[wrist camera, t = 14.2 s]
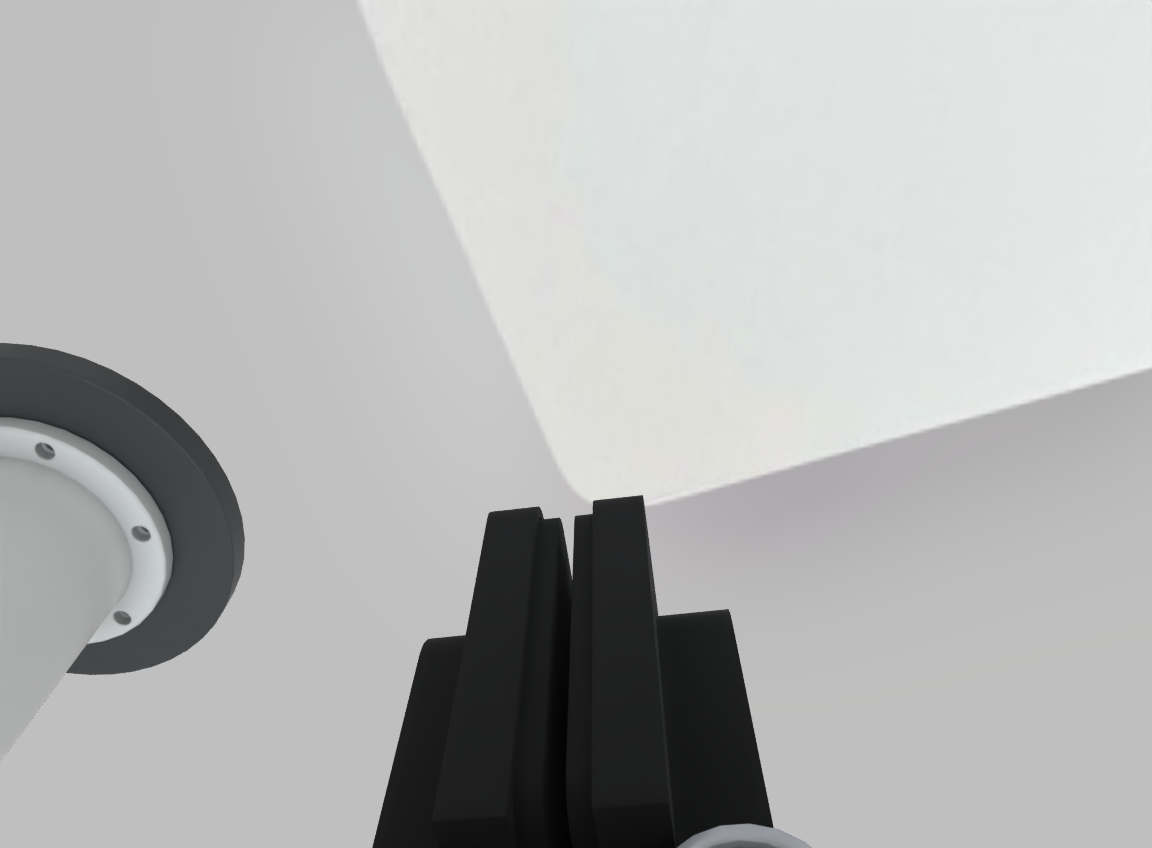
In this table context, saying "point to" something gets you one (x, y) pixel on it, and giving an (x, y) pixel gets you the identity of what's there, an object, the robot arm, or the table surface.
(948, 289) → the table surface
